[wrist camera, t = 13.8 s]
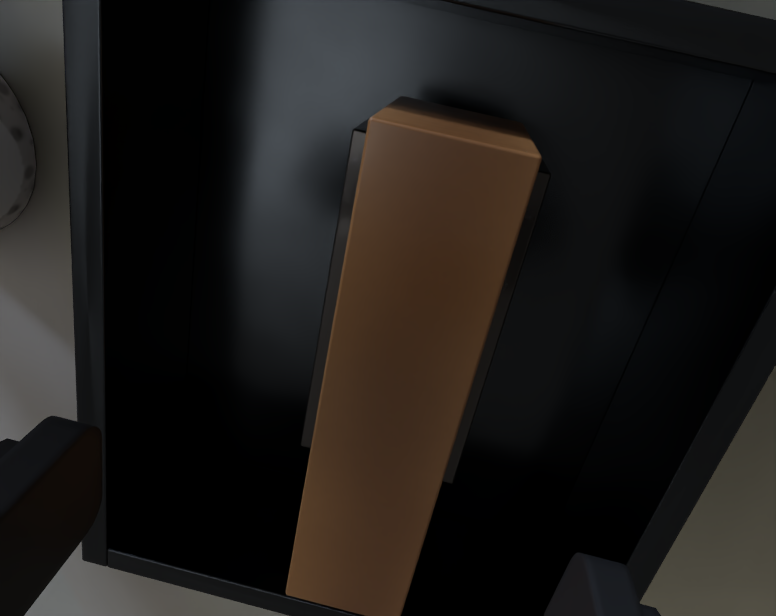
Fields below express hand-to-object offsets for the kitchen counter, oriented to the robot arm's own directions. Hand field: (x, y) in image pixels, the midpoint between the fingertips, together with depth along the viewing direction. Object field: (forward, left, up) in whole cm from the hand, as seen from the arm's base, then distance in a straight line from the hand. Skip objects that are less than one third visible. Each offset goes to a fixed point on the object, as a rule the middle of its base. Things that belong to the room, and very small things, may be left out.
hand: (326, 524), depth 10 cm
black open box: (0, 0, -10) cm, 10 cm away
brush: (+1, 0, -10) cm, 10 cm away
